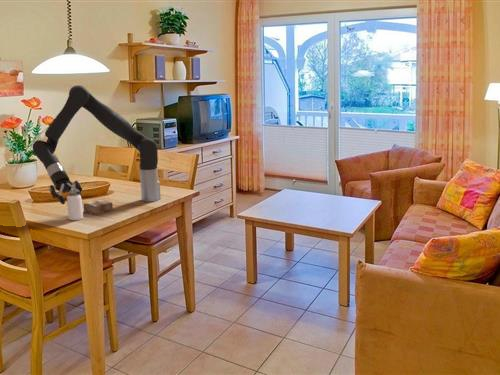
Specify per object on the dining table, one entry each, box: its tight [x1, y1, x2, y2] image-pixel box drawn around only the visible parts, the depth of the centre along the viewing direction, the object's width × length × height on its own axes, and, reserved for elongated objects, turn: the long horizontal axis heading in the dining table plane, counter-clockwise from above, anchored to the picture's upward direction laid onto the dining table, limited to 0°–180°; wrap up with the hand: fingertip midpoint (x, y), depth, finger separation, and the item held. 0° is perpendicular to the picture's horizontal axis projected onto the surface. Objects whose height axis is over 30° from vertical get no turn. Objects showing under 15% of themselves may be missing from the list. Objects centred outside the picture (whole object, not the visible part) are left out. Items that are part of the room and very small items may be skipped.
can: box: [66, 192, 84, 222], centre depth 226 cm, size 6×6×12 cm
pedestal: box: [82, 199, 114, 216], centre depth 240 cm, size 10×10×4 cm
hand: (72, 201), depth 227 cm, fingers open, 8 cm apart
